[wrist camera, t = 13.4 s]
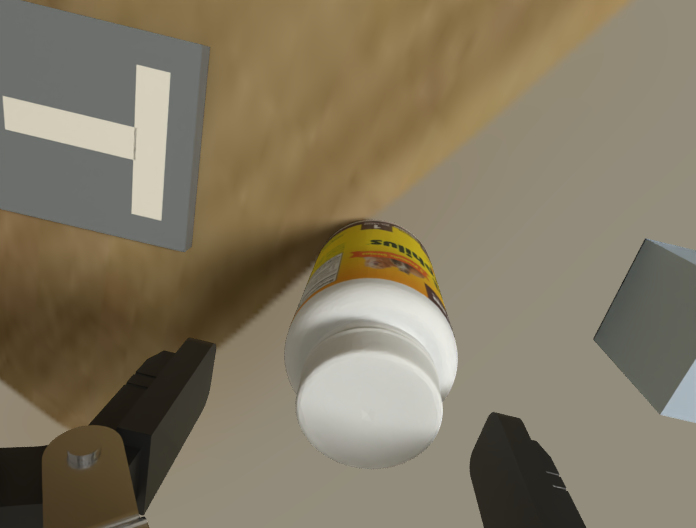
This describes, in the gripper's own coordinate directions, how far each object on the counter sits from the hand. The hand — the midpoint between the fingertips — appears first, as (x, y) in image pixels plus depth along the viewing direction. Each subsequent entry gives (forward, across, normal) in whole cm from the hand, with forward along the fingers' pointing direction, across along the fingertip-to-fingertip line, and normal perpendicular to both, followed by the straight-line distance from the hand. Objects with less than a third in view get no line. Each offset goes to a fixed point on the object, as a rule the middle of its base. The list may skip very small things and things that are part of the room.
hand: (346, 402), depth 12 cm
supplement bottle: (+10, -1, 0) cm, 10 cm away
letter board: (+9, +13, -4) cm, 16 cm away
